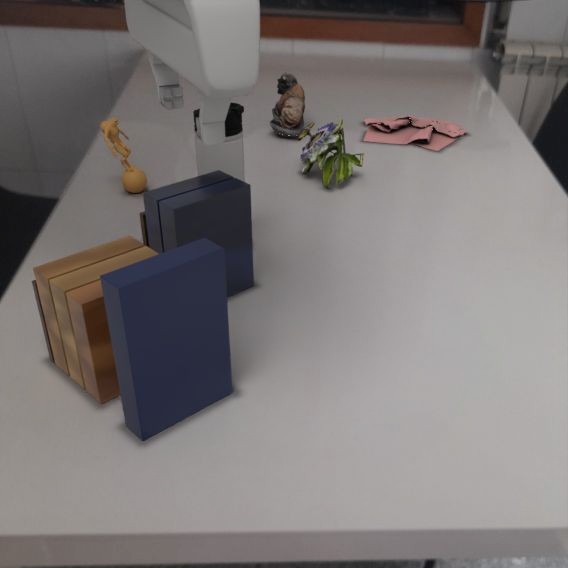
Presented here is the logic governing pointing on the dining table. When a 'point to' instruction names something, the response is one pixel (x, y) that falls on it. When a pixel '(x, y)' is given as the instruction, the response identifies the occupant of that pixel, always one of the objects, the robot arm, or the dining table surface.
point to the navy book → (169, 335)
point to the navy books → (204, 221)
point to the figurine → (131, 176)
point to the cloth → (413, 132)
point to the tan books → (83, 313)
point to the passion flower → (326, 143)
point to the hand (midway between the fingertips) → (190, 123)
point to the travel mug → (223, 147)
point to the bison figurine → (289, 107)
